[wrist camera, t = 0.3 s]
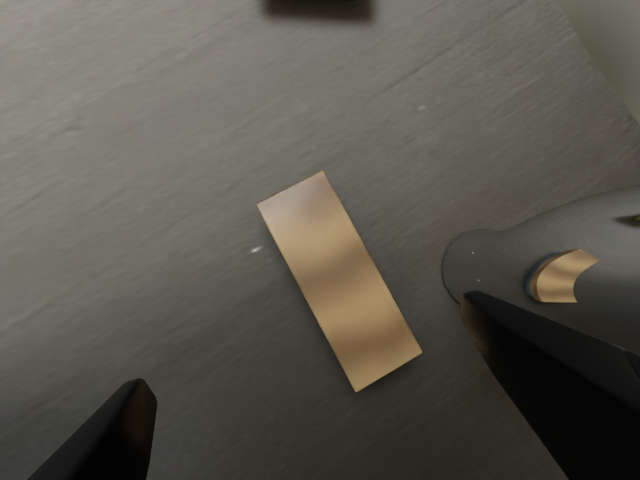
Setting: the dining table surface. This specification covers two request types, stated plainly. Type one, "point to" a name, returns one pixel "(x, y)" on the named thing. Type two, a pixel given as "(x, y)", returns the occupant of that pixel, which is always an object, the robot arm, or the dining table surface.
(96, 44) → the dining table surface
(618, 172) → the dining table surface
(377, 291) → the scrub brush
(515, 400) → the robot arm
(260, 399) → the dining table surface
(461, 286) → the beer glass
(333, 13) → the dining table surface
